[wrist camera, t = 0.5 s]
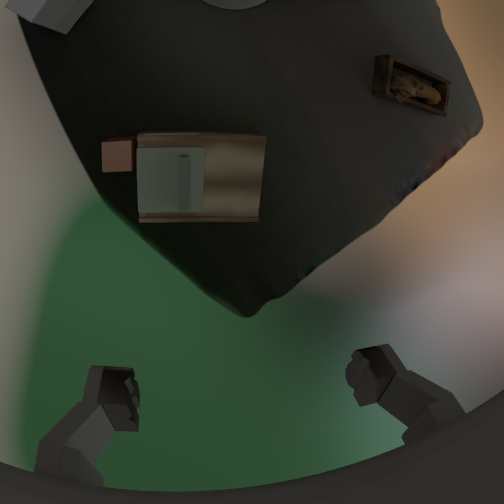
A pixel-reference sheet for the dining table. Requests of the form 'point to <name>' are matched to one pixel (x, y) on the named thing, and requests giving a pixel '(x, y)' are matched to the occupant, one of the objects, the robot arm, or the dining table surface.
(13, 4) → the supplement box
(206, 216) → the wooden box
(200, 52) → the dining table surface
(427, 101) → the lion figurine
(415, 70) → the lion stand
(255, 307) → the dining table surface
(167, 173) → the cover
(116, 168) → the cube
